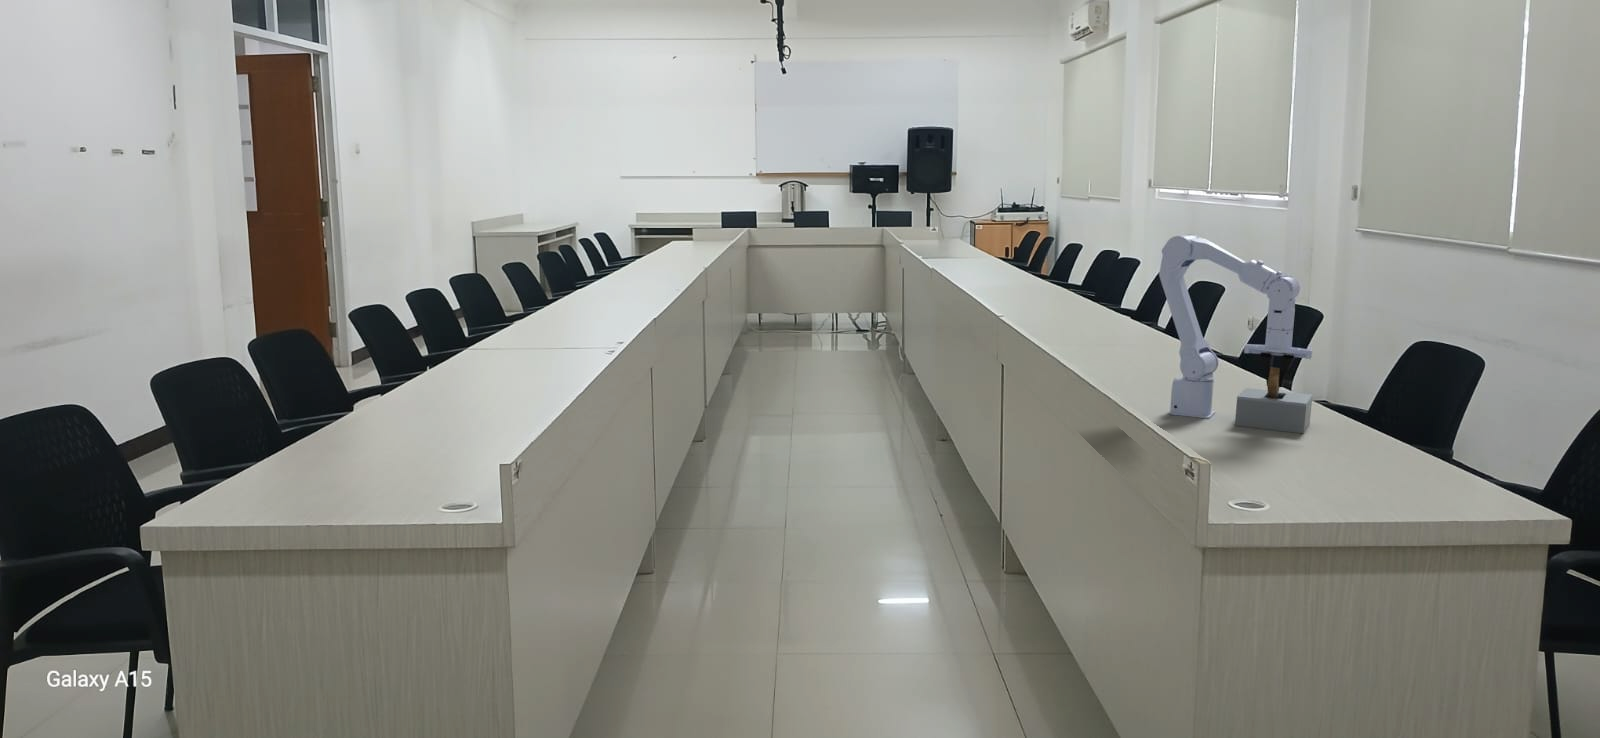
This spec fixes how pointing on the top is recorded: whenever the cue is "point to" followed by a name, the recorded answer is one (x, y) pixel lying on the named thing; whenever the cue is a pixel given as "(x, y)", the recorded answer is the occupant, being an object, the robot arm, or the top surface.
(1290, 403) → the ballot box
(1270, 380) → the brown wooden block
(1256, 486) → the top surface
